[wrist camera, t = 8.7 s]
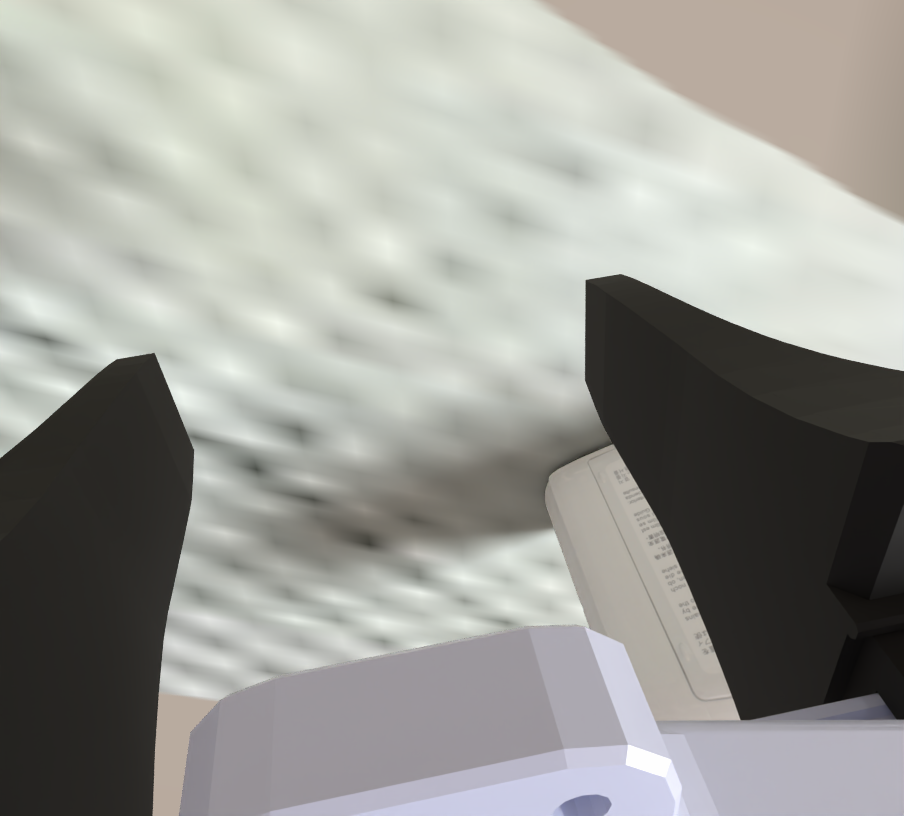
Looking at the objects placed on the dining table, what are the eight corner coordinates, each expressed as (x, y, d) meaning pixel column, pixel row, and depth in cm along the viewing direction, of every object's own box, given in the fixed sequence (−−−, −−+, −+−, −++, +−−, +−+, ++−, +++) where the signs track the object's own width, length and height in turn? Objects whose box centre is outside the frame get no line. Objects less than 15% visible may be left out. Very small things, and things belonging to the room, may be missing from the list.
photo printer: (558, 538, 31) (676, 848, 21) (526, 470, 28) (643, 786, 18) (793, 444, 30) (1034, 723, 20) (781, 365, 27) (1051, 639, 17)
